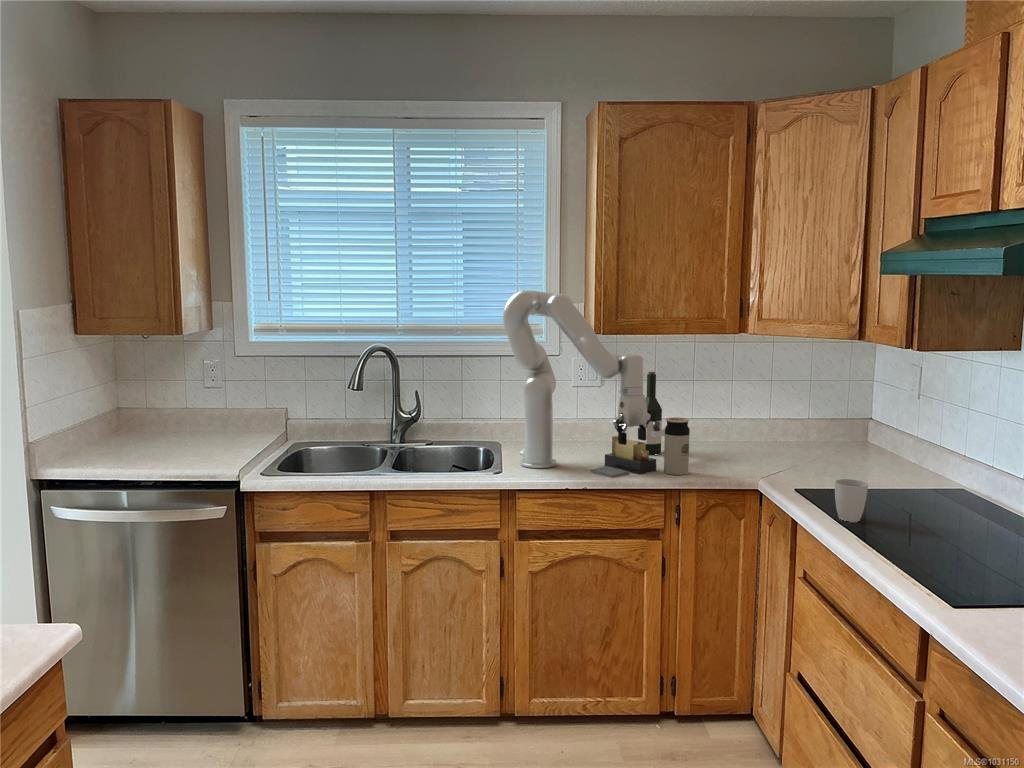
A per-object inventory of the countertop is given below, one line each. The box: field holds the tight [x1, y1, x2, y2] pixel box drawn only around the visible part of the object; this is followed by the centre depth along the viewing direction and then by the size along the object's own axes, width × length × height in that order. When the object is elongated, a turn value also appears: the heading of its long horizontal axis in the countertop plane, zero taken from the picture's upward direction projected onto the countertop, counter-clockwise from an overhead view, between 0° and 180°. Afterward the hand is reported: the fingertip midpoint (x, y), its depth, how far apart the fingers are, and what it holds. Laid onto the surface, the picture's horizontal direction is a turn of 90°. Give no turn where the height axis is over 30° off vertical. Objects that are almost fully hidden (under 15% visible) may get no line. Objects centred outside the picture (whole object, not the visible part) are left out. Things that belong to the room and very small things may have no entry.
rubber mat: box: [589, 465, 630, 478], centre depth 265 cm, size 10×8×1 cm
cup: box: [834, 478, 869, 523], centre depth 212 cm, size 8×8×10 cm
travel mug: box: [663, 416, 691, 476], centre depth 264 cm, size 8×8×18 cm
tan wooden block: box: [615, 439, 645, 460], centre depth 270 cm, size 8×6×5 cm
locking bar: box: [651, 422, 665, 437], centre depth 282 cm, size 2×16×5 cm, turn 129°
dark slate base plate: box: [604, 435, 657, 475], centre depth 271 cm, size 16×8×10 cm, turn 39°
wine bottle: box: [638, 371, 663, 456], centre depth 294 cm, size 8×8×30 cm
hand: (632, 442), depth 270 cm, fingers open, 9 cm apart
